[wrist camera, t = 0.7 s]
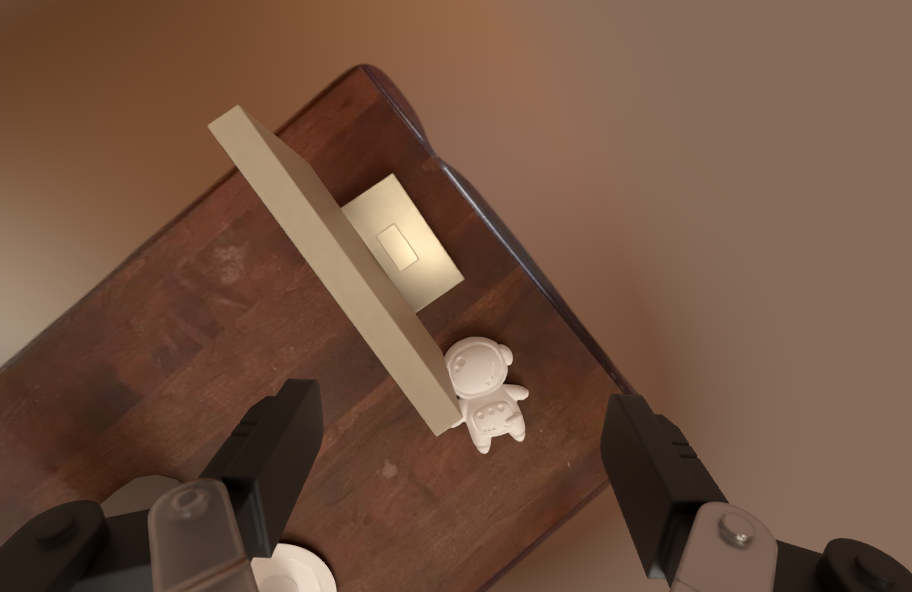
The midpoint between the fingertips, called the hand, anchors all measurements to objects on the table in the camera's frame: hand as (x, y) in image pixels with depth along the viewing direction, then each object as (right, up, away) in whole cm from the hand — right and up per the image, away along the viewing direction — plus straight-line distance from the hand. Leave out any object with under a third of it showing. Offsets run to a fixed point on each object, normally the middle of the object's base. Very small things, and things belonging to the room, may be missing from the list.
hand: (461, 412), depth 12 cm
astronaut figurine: (+3, -7, +33) cm, 34 cm away
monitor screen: (-7, +5, +20) cm, 22 cm away
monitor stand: (-6, +7, +30) cm, 32 cm away
